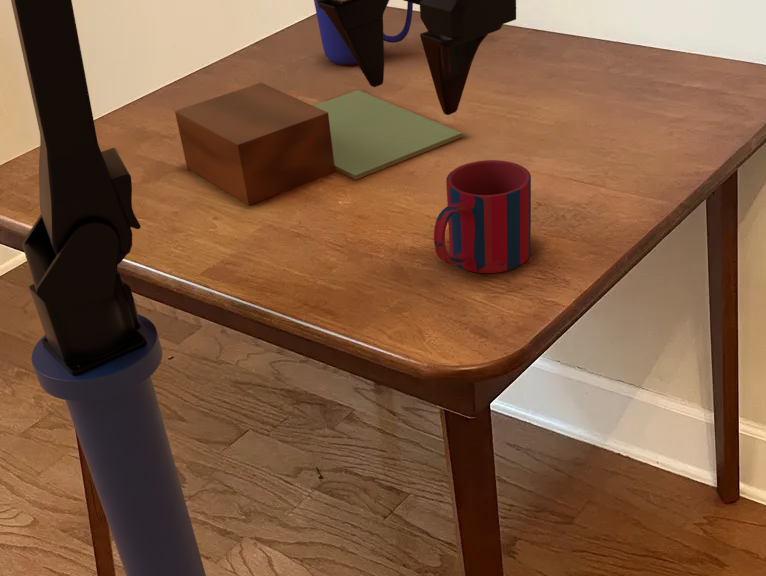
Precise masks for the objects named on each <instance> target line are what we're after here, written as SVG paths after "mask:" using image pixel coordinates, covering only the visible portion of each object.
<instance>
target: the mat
mask: <svg viewBox="0 0 766 576" xmlns="http://www.w3.org/2000/svg"><path fill="white" fill-rule="evenodd" d="M313 106H315V107H317V108H319V109H321V110H323V111H326V112H328V115H329V123H330V132H331V140H332V148H333V156H334V165H335V171H337V172H339V173H341V174H343V175H344V176H347V177H349V178H350V179H352V180H359V179H361V178H364V177H366V176H370V175H371V174H374V173H376V172H379V171H382V170H385V169H386V168H389V167H392V166H394V165H397V164H399V163H401V162H404V161H406V160H409V159H411V158H414V157H417V156H419V155H422V154H424V153H426V152H430V151H431V150H434V149H436V148H439V147H441V146H444V145H446V144H449V143H451V142H453V141H457V140H458V139H461V138H463V133H462V132H461V131H458V130H456V129H453V128H452V127H449V126H447V125H444V124H442V123H440V122H437V121H434V120H432V119H430V118H427V117H425V116H423V115H419V114H417V113H415V112H413V111H410V110H408V109H405V108H403V107H400V106H398V105H396V104H393V103H391V102H388V101H385V100H383V99H381V98H379V97H376V96H373V95H371V94H369V93H366V92H364V91H362V90H359V89H357V90H354V91H350V92H348V93H346V94H342V95H339V96H336V97H334V98H331V99H328V100H325V101H323V102H320V103H317V104H314V105H313Z"/></svg>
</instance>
